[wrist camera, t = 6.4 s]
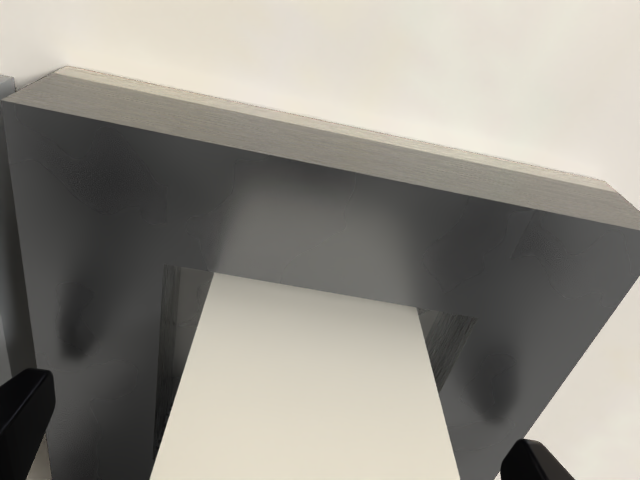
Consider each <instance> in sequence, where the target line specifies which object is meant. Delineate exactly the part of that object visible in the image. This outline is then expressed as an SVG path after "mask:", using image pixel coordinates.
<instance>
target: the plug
mask: <svg viewBox="0 0 640 480" xmlns="http://www.w3.org/2000/svg"><path fill="white" fill-rule="evenodd" d="M150 480H460V476H459V473H458V469H457V465H456V461H455V457H454V453H453V449H452V445H451V441H450V437H449V434H448V430H447V426H446V422H445V418H444V414H443V410H442V406H441V402H440V398H439V394H438V391H437V387H436V383H435V379H434V375H433V371H432V367H431V363H430V359H429V355H428V351H427V348H426V344H425V340H424V336H423V332H422V328H421V324H420V320H419V316H418V312H417V309H416V307H411V306H405V305H399V304H394V303H388V302H382V301H376V300H370V299H365V298H359V297H353V296H347V295H342V294H336V293H330V292H324V291H318V290H313V289H307V288H301V287H295V286H290V285H284V284H278V283H272V282H267V281H261V280H255V279H249V278H243V277H238V276H232V275H226V274H220V273H215V272H214V275H213V279H212V282H211V285H210V288H209V291H208V294H207V298H206V301H205V304H204V307H203V310H202V314H201V317H200V320H199V323H198V326H197V330H196V333H195V336H194V339H193V342H192V346H191V349H190V352H189V355H188V358H187V362H186V365H185V368H184V371H183V374H182V378H181V381H180V384H179V387H178V390H177V393H176V397H175V400H174V403H173V406H172V409H171V413H170V416H169V419H168V422H167V425H166V429H165V432H164V435H163V438H162V441H161V445H160V448H159V451H158V454H157V457H156V461H155V464H154V467H153V470H152V473H151V476H150Z"/></svg>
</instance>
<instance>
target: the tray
mask: <svg viewBox="0 0 640 480" xmlns="http://www.w3.org/2000/svg"><path fill="white" fill-rule="evenodd" d="M13 93H15V84H14V77H9V76H4V75H0V386H1V385H2V384H4V383H5V382H7V381H8V380H9V379H11V378H12V377H14V376H15V375H17V374H18V373H20V372H21V371H22V370H24V369H27V368H37V364H36V357H35V350H34V342H33V335H32V328H31V320H30V313H29V306H28V298H27V291H26V284H25V276H24V269H23V262H22V254H21V247H20V240H19V232H18V225H17V218H16V210H15V203H14V196H13V188H12V181H11V174H10V166H9V159H8V152H7V144H6V137H5V130H4V122H3V115H2V108H1V99H3V98H5V97H7V96H9V95H11V94H13ZM45 432H46V431H45Z"/></svg>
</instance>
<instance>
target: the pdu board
mask: <svg viewBox="0 0 640 480" xmlns="http://www.w3.org/2000/svg"><path fill="white" fill-rule="evenodd" d="M1 108H2V115H3V122H4V130H5V137H6V144H7V152H8V159H9V166H10V174H11V181H12V188H13V196H14V203H15V210H16V218H17V225H18V232H19V240H20V247H21V254H22V262H23V269H24V276H25V284H26V291H27V298H28V306H29V313H30V320H31V328H32V335H33V342H34V350H35V357H36V364H37V368H38V369H45V370H50V371H51V372H52V373H53V377H54V387H55V396H56V404H55V409H54V412H53V415H52V417H51V419H50V422H49V424H48V427H47V429H46V438H47V445H48V452H49V460H50V467H51V474H52V480H150V476H151V473H152V470H153V467H154V464H155V461H156V457H157V454H158V451H159V448H160V445H161V441H162V438H163V435H164V432H165V429H166V425H167V422H168V419H169V416H170V413H171V409H172V406H173V403H174V400H175V397H176V393H177V390H178V387H179V384H180V381H181V378H182V374H183V371H184V368H185V365H186V362H187V358H188V355H189V352H190V349H191V346H192V342H193V339H194V336H195V333H196V330H197V326H198V323H199V320H200V317H201V314H202V310H203V307H204V304H205V301H206V298H207V294H208V291H209V288H210V285H211V282H212V279H213V275H214V272H215V273H220V274H226V275H232V276H238V277H243V278H249V279H255V280H261V281H267V282H272V283H278V284H284V285H290V286H295V287H301V288H307V289H313V290H318V291H324V292H330V293H336V294H342V295H347V296H353V297H359V298H365V299H370V300H376V301H382V302H388V303H394V304H399V305H405V306H411V307H416V309H417V312H418V316H419V320H420V324H421V328H422V332H423V336H424V340H425V344H426V348H427V351H428V355H429V359H430V363H431V367H432V371H433V375H434V379H435V383H436V387H437V391H438V394H439V398H440V402H441V406H442V410H443V414H444V418H445V422H446V426H447V430H448V434H449V437H450V441H451V445H452V449H453V453H454V457H455V461H456V465H457V469H458V473H459V476H460V480H494V479H495V477H496V476H497V474H498V473H499V472H500V468H501V463H502V461H503V459H504V458H505V456H506V455H507V453H508V452H509V451H510V449H511V448H512V446H513V445H514V443H515V442H516V441H517V440H519V439H523V438H524V437H525V435H526V434H527V432H528V431H529V430H530V428H531V427H532V425H533V424H534V423H535V421H536V420H537V418H538V417H539V416H540V414H541V413H542V411H543V410H544V409H545V407H546V406H547V404H548V403H549V402H550V400H551V399H552V397H553V396H554V395H555V393H556V392H557V390H558V389H559V388H560V386H561V385H562V383H563V382H564V381H565V379H566V378H567V376H568V375H569V374H570V372H571V371H572V369H573V368H574V367H575V365H576V364H577V362H578V361H579V360H580V358H581V357H582V356H583V354H584V353H585V351H586V350H587V349H588V347H589V346H590V344H591V343H592V342H593V340H594V339H595V337H596V336H597V335H598V333H599V332H600V330H601V329H602V328H603V326H604V325H605V323H606V322H607V321H608V319H609V318H610V316H611V315H612V314H613V312H614V311H615V309H616V308H617V307H618V305H619V304H620V302H621V301H622V300H623V298H624V297H625V295H626V294H627V293H628V291H629V290H630V288H631V287H632V286H633V284H634V283H635V281H636V280H637V279H638V277H639V276H640V211H639V210H637V209H636V208H635V207H634V206H633V205H632V204H631V203H629V202H628V201H627V200H626V199H625V198H624V197H623V196H621V195H620V194H619V193H618V192H617V191H616V190H615V189H613V188H612V187H611V186H610V185H609V184H608V183H606V182H605V181H602V180H598V179H593V178H588V177H584V176H579V175H574V174H570V173H565V172H560V171H556V170H551V169H546V168H542V167H537V166H532V165H528V164H523V163H518V162H514V161H509V160H504V159H500V158H495V157H490V156H486V155H481V154H476V153H472V152H467V151H462V150H458V149H453V148H448V147H444V146H439V145H435V144H430V143H425V142H421V141H416V140H411V139H407V138H402V137H397V136H393V135H388V134H383V133H379V132H374V131H369V130H365V129H360V128H355V127H351V126H346V125H341V124H337V123H332V122H327V121H323V120H318V119H313V118H309V117H304V116H299V115H295V114H290V113H286V112H281V111H276V110H272V109H267V108H262V107H258V106H253V105H248V104H244V103H239V102H234V101H230V100H225V99H220V98H216V97H211V96H206V95H202V94H197V93H192V92H188V91H183V90H178V89H174V88H169V87H164V86H160V85H155V84H150V83H146V82H141V81H136V80H132V79H127V78H123V77H118V76H113V75H109V74H104V73H99V72H95V71H90V70H85V69H81V68H76V67H71V66H65V67H63V68H61V69H59V70H57V71H55V72H53V73H51V74H50V75H48V76H46V77H44V78H42V79H40V80H38V81H36V82H34V83H32V84H30V85H28V86H26V87H25V88H23V89H21V90H19V91H17V92H15V93H13V94H11V95H9V96H7V97H5V98H3V99H1Z"/></svg>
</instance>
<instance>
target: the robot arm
mask: <svg viewBox="0 0 640 480" xmlns="http://www.w3.org/2000/svg"><path fill="white" fill-rule="evenodd" d="M55 404H56V396H55V387H54V377H53V373H52V372H51V371H50V370H45V369H38V368H27V369H24V370H22V371H21V372H20V373H18V374H17V375H15V376H14V377H12V378H11V379H9V380H8V381H7V382H5V383H4V384H2V385H1V386H0V480H26V477H27V475H28V473H29V470H30V468H31V465H32V463H33V460H34V458H35V456H36V453H37V451H38V448H39V446H40V444H41V441H42V439H43V436H44V434H45V431H46V429H47V427H48V424H49V422H50V419H51V417H52V415H53V412H54V409H55ZM500 474H501V480H575V479H574V478H573V477H572V476H571V475H570V474H569V472H568V471H567V470H566V469H565V468H564V467H563V466H562V465H561V464H560V463H559V462H558V460H557V459H556V458H555V457H554V456H553V455H552V454H551V453H550V452H549V451H548V449H547V448H546V447H545V446H544V445H543V444H542V443H540V442H538V441H535V440H528V439H519V440H517V441H516V442H515V443H514V445H513V446H512V448H511V449H510V451H509V452H508V453H507V455H506V456H505V458H504V459H503V461H502V463H501V468H500Z"/></svg>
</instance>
